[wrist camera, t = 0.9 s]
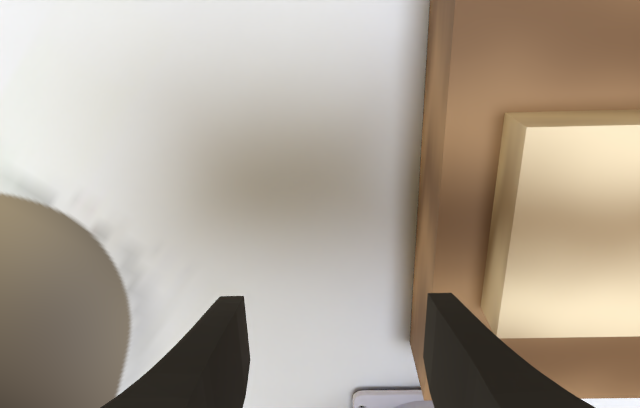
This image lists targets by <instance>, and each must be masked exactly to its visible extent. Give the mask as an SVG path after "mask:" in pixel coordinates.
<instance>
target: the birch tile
mask: <svg viewBox="0 0 640 408" xmlns="http://www.w3.org/2000/svg"><path fill="white" fill-rule="evenodd" d="M481 309H482V311H483V313H484V315H485V317H486V319H487V321H488V323H489V325H490V327H491V329H492V331H493V333H494V334H495V335H496V336H497V337H498V338H566V337H633V336H640V110H599V111H554V112H509V113H505V115H504V123H503V131H502V139H501V147H500V155H499V163H498V171H497V179H496V187H495V195H494V203H493V211H492V219H491V227H490V235H489V243H488V251H487V259H486V267H485V275H484V283H483V291H482V299H481Z"/></svg>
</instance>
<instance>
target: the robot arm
mask: <svg viewBox="0 0 640 408" xmlns="http://www.w3.org/2000/svg"><path fill="white" fill-rule="evenodd" d="M423 359H424V365H425V371H426V376H427V381H428V386H429V391H430V395H431V398H432V400H428V401H424V398H423V394H422V390H362V391H358V392H356V393H355V394H354V395H353V408H595V407H593V406H591V405H590V404H588V403H586V402H585V401H583V400H581V399H580V398H578V397H576V396H575V395H573V394H572V393H570V392H569V391H567V390H566V389H564V388H563V387H561V386H560V385H558V384H557V383H555V382H554V381H552V380H551V379H550V378H548V377H547V376H545V375H544V374H542V373H541V372H540V371H538V370H537V369H536V368H534V367H533V366H532V365H530V364H529V363H528V362H527V361H525V360H524V359H523V358H522V357H521V356H519V355H518V354H517V353H516V352H514V351H513V350H512V349H511V348H510V347H508V346H507V345H506V344H505V343H504V342H503V341H501V340H500V339H499V338H498V337H497V336H496V335H495V334H494V333H493V332H492V331H490V330H489V329H488V328H487V327H486V326H485V325H484V324H483V323H482V322H481V321H480V320H479V319H478V318H477V317H476V316H475V315H474V314H473V313H472V312H471V311H470V310H469V309H468V308H467V307H466V306H465V305H464V304H463V303H462V302H461V301H460V300H459V299H458V298H457V297H456V296H454V295H453V294H452V293H428V296H427V309H426V323H425V337H424V350H423ZM249 365H250V353H249V343H248V333H247V323H246V313H245V303H244V296H221V297H219V298H218V299H217V300H216V301H215V303H214V304H213V305H212V306H211V307H210V308H209V309H208V310H207V312H206V313H205V314H204V315H203V316H202V317H201V318H200V320H199V321H198V322H197V323H196V324H195V325H194V326H193V327H192V328H191V330H190V331H189V332H188V333H187V334H186V335H185V336H184V337H183V338H182V339H181V340H180V341H179V342H178V343H177V344H176V345H175V346H174V347H173V348H172V349H171V350H170V351H169V352H168V353H167V354H166V355H165V356H164V357H163V358H162V359H161V360H160V361H159V362H158V363H157V364H156V365H155V366H154V367H152V368H151V369H150V370H149V371H148V372H147V373H146V374H145V375H143V376H142V377H141V378H140V379H139V380H137V381H136V382H135V383H134V384H132V385H131V386H130V387H129V388H127V389H126V390H125V391H124V392H122V393H121V394H120V395H118V396H117V397H116V398H114V399H113V400H111V401H110V402H108V403H107V404H105V405H104V406H102V407H101V408H243V404H244V400H245V395H246V388H247V381H248V373H249ZM359 406H365V407H359Z"/></svg>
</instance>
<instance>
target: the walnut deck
mask: <svg viewBox="0 0 640 408" xmlns="http://www.w3.org/2000/svg"><path fill="white" fill-rule="evenodd" d="M599 110H640V0H430V11H429V28H428V44H427V61H426V78H425V95H424V112H423V129H422V146H421V163H420V179H419V196H418V213H417V230H416V247H415V264H414V281H413V297H412V314H411V331H410V345H411V349H412V353H413V357H414V361H415V365H416V370H417V374H418V378H419V382H420V386H421V390H422V394H423V398H424V401H428V400H432V398H431V395H430V391H429V386H428V381H427V376H426V371H425V365H424V359H423V350H424V337H425V323H426V309H427V296H428V293H452V294H453V295H454V296H456V297H457V298H458V299H459V300H460V301H461V302H462V303H463V304H464V305H465V306H466V307H467V308H468V309H469V310H470V311H471V312H472V313H473V314H474V315H475V316H476V317H477V318H478V319H479V320H480V321H481V322H482V323H483V324H484V325H485V326H486V327H487V328H488V329H489V330H490V331H492V329H491V327H490V325H489V323H488V321H487V319H486V317H485V315H484V313H483V311H482V309H481V299H482V291H483V283H484V275H485V267H486V259H487V251H488V243H489V235H490V227H491V219H492V211H493V203H494V195H495V187H496V179H497V171H498V163H499V155H500V147H501V139H502V131H503V123H504V115H505V113H509V112H554V111H599ZM492 332H493V331H492ZM499 339H500V340H501V341H503V342H504V343H505V344H506V345H507V346H508V347H510V348H511V349H512V350H513V351H514V352H516V353H517V354H518V355H519V356H521V357H522V358H523V359H524V360H525V361H527V362H528V363H529V364H530V365H532V366H533V367H534V368H536V369H537V370H538V371H540V372H541V373H542V374H544V375H545V376H547V377H548V378H550V379H551V380H552V381H554V382H555V383H557V384H558V385H560V386H561V387H563V388H564V389H566V390H567V391H569V392H570V393H572V394H573V395H575V396H576V397H578V398H580V399H584V398H640V336H633V337H566V338H499Z"/></svg>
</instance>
